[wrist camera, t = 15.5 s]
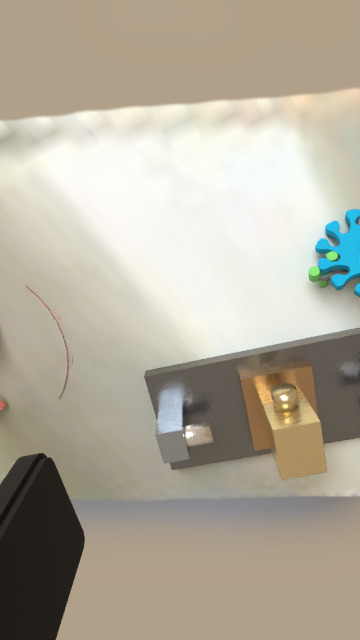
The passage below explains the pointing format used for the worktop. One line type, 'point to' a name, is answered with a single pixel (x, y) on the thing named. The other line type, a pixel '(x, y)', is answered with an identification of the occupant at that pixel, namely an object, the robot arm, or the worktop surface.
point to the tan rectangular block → (292, 431)
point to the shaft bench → (226, 397)
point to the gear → (339, 255)
